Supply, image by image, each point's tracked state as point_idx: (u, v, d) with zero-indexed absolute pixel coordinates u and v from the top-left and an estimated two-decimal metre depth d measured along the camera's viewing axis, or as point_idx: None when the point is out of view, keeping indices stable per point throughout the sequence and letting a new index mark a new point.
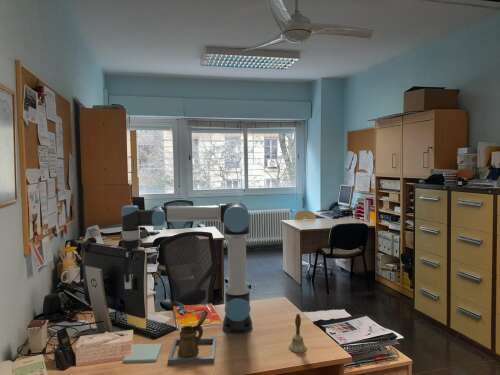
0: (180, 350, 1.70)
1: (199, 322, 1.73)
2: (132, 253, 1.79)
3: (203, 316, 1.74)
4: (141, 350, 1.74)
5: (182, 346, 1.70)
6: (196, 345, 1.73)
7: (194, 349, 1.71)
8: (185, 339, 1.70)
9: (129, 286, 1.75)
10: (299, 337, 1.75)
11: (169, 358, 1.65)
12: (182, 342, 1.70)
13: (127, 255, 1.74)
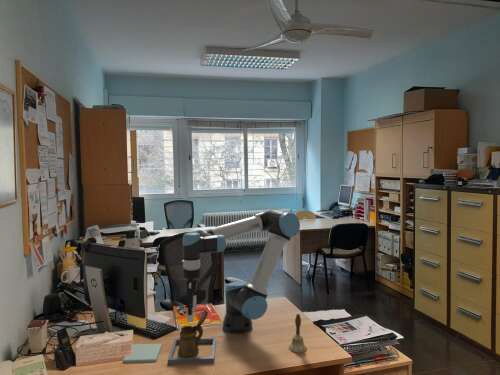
0: (180, 350, 1.70)
1: (199, 322, 1.73)
2: None
3: (203, 316, 1.74)
4: (141, 350, 1.74)
5: (182, 346, 1.70)
6: (196, 345, 1.73)
7: (194, 349, 1.71)
8: (185, 339, 1.70)
9: (191, 319, 1.65)
10: (299, 337, 1.75)
11: (169, 358, 1.65)
12: (182, 342, 1.70)
13: (190, 286, 1.65)
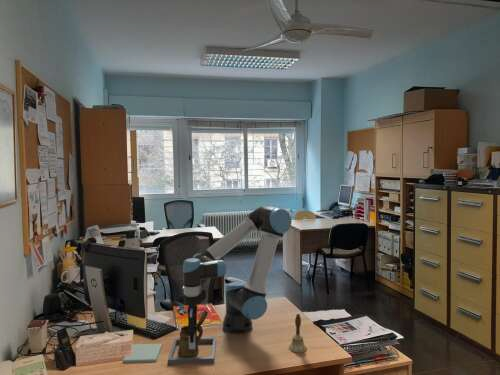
0: (180, 350, 1.70)
1: (199, 322, 1.73)
2: (194, 310, 1.70)
3: (203, 316, 1.74)
4: (141, 350, 1.74)
5: (182, 346, 1.70)
6: (196, 345, 1.73)
7: (194, 349, 1.71)
8: (185, 339, 1.70)
9: (193, 346, 1.69)
10: (299, 337, 1.75)
11: (169, 358, 1.65)
12: (182, 342, 1.70)
13: (191, 316, 1.66)
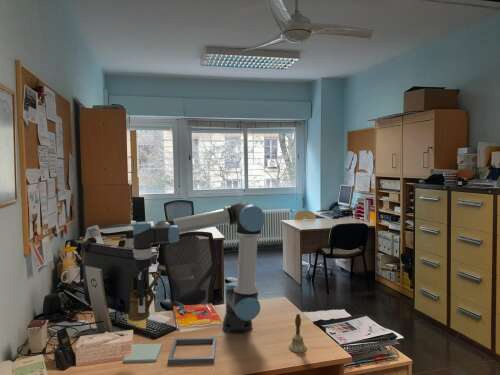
0: (130, 314, 1.68)
1: (150, 286, 1.71)
2: (144, 273, 1.68)
3: (154, 280, 1.72)
4: (141, 350, 1.74)
5: (132, 309, 1.68)
6: (147, 309, 1.71)
7: (144, 313, 1.69)
8: (135, 302, 1.68)
9: (143, 310, 1.67)
10: (299, 337, 1.75)
11: (169, 358, 1.65)
12: (132, 305, 1.68)
13: (139, 278, 1.64)
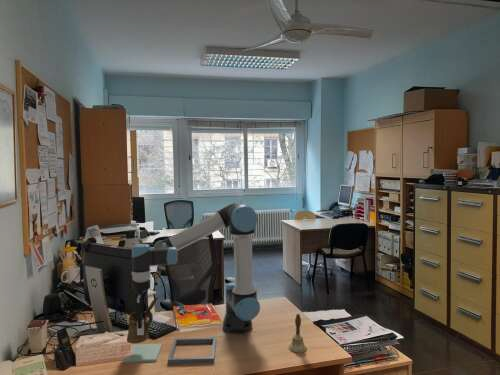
0: (128, 336, 1.69)
1: (148, 308, 1.72)
2: (143, 296, 1.69)
3: (153, 302, 1.72)
4: (141, 350, 1.74)
5: (130, 332, 1.69)
6: (145, 331, 1.71)
7: (143, 335, 1.70)
8: (133, 325, 1.68)
9: (141, 332, 1.68)
10: (299, 337, 1.75)
11: (169, 358, 1.65)
12: (130, 328, 1.69)
13: (138, 301, 1.64)
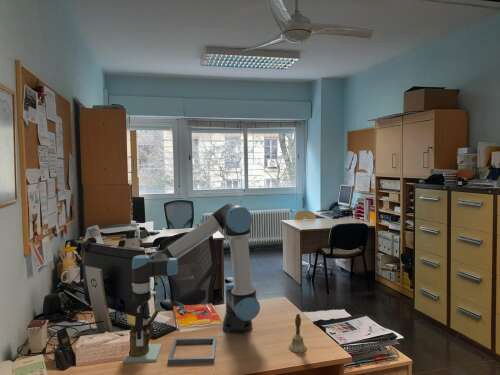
0: None
1: (149, 321, 1.72)
2: (143, 306, 1.69)
3: (154, 315, 1.73)
4: None
5: (131, 345, 1.69)
6: (146, 344, 1.72)
7: (143, 348, 1.70)
8: (134, 338, 1.69)
9: (141, 343, 1.66)
10: (299, 337, 1.75)
11: (169, 358, 1.65)
12: (131, 341, 1.69)
13: (138, 311, 1.64)
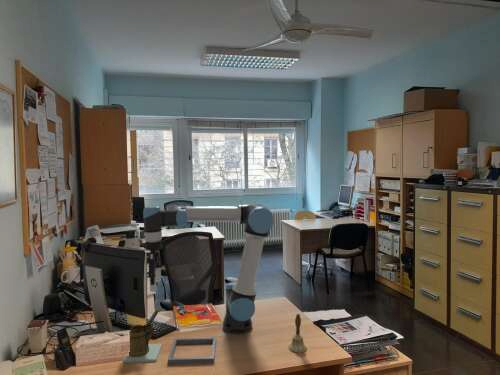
0: None
1: (149, 321, 1.72)
2: (156, 255, 1.75)
3: (153, 315, 1.73)
4: None
5: (131, 345, 1.69)
6: (146, 344, 1.72)
7: (143, 348, 1.70)
8: (134, 338, 1.69)
9: (154, 289, 1.71)
10: (299, 337, 1.75)
11: (169, 358, 1.65)
12: (131, 341, 1.69)
13: (151, 257, 1.70)
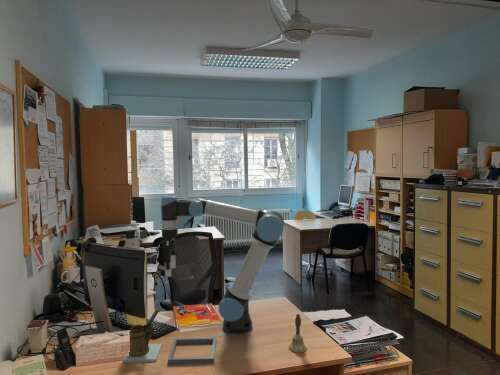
0: None
1: (149, 321, 1.72)
2: (171, 242, 1.85)
3: (153, 315, 1.73)
4: None
5: (131, 345, 1.69)
6: (146, 344, 1.72)
7: (143, 348, 1.70)
8: (134, 338, 1.69)
9: (169, 274, 1.81)
10: (299, 337, 1.75)
11: (169, 358, 1.65)
12: (131, 341, 1.69)
13: (168, 244, 1.80)
